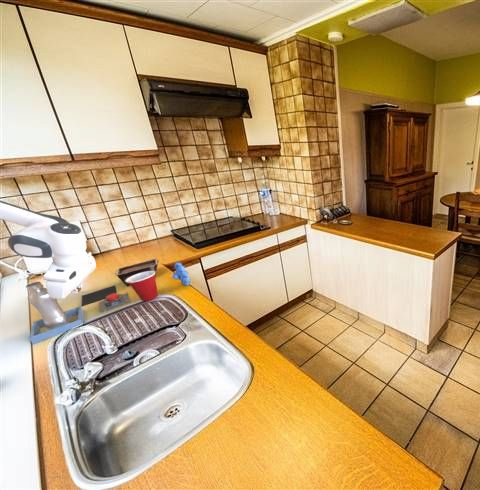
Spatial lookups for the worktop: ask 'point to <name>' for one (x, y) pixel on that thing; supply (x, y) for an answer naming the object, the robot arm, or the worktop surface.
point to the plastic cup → (144, 285)
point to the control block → (114, 302)
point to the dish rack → (39, 337)
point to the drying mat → (97, 295)
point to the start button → (112, 296)
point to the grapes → (181, 274)
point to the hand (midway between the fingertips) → (76, 291)
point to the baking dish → (136, 269)
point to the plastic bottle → (46, 306)
